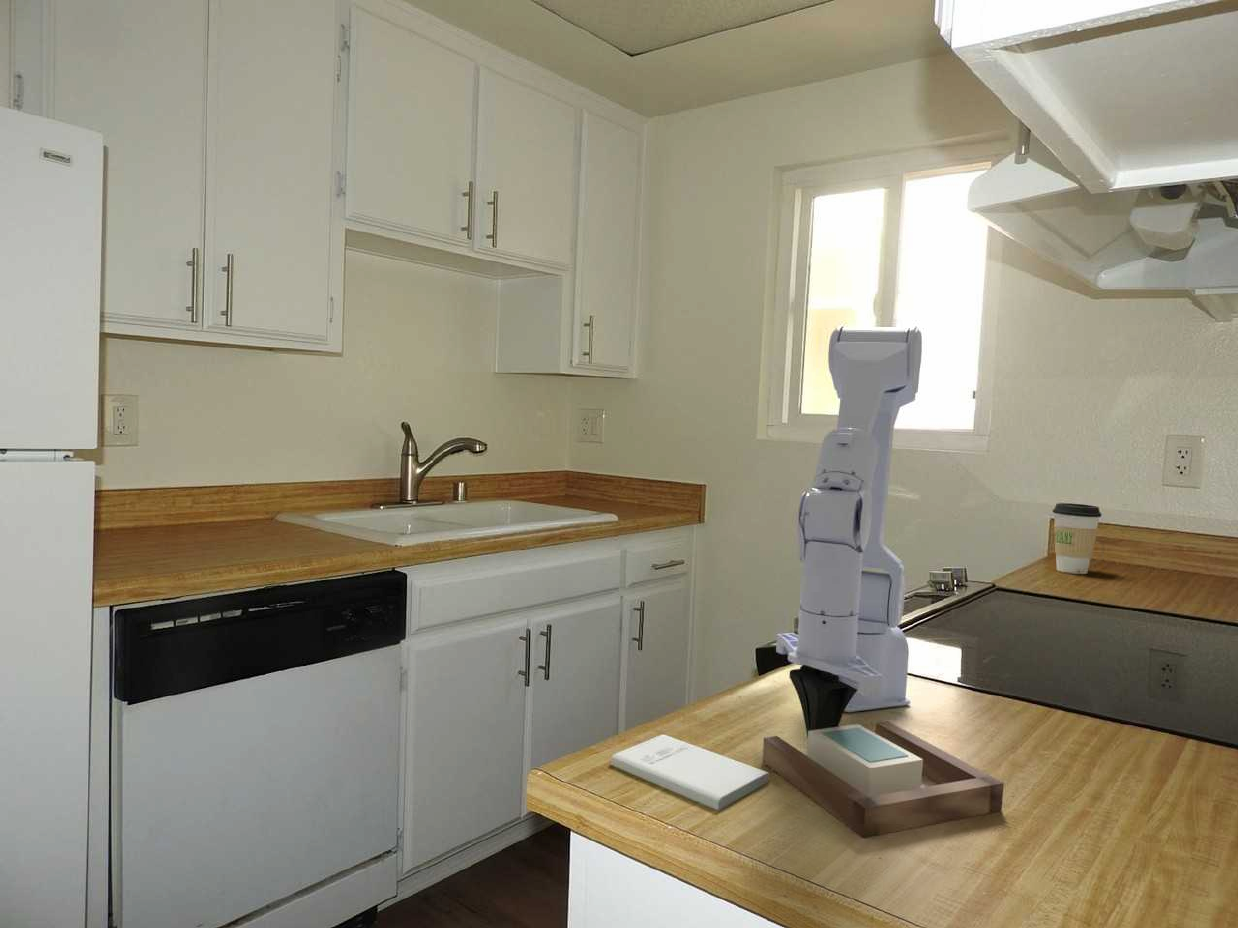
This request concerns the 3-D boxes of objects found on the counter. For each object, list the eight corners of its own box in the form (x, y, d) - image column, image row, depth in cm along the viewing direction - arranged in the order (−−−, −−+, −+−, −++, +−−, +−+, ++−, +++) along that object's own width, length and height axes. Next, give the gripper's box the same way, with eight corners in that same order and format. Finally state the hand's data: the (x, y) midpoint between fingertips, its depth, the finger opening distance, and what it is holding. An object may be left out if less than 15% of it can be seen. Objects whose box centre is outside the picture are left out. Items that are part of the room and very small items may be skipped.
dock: (886, 744, 89) (887, 721, 89) (1001, 810, 76) (1003, 782, 75) (762, 762, 83) (763, 737, 83) (863, 837, 70) (865, 807, 70)
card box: (855, 757, 87) (857, 722, 86) (920, 796, 78) (923, 758, 78) (806, 765, 84) (808, 729, 84) (867, 806, 76) (870, 767, 76)
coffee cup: (1049, 565, 202) (1054, 501, 201) (1097, 570, 198) (1102, 505, 196) (1046, 571, 194) (1051, 505, 193) (1096, 577, 189) (1102, 509, 188)
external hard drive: (717, 817, 73) (610, 770, 82) (769, 788, 80) (664, 747, 88) (718, 798, 73) (610, 753, 82) (770, 770, 79) (665, 731, 88)
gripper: (754, 594, 91) (747, 720, 92) (841, 631, 77) (832, 778, 78) (810, 591, 93) (803, 713, 94) (903, 626, 80) (893, 768, 81)
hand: (820, 742), depth 87 cm, fingers closed
